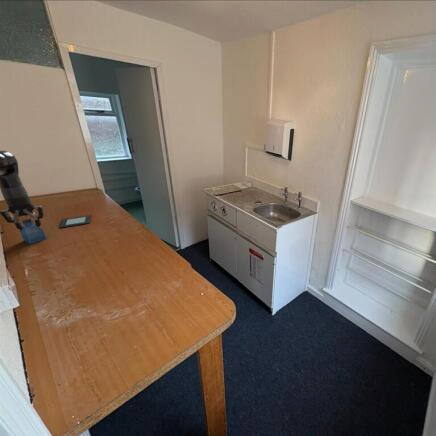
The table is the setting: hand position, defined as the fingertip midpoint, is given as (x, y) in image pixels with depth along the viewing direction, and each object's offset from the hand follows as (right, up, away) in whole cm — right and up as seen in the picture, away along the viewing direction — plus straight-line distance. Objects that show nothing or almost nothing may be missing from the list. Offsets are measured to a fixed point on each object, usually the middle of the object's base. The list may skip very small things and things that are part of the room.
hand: (30, 227), depth 115 cm
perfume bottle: (0, -7, +3) cm, 8 cm away
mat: (0, +3, +25) cm, 25 cm away
